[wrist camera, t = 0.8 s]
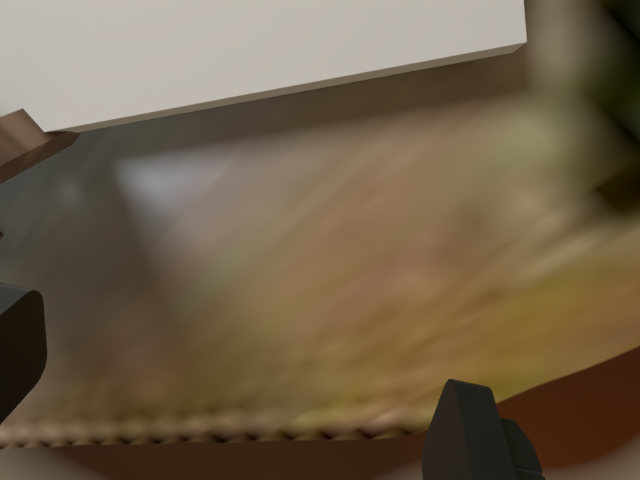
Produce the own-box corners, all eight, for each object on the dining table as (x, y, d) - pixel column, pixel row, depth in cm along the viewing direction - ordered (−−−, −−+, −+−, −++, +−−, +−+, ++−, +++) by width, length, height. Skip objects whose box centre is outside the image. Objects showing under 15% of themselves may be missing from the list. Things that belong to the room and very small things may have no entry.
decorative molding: (-16, -1, 35) (22, 144, 37) (-80, -20, 31) (-33, 146, 33) (493, -130, 29) (509, 55, 31) (509, -179, 24) (527, 42, 26)
